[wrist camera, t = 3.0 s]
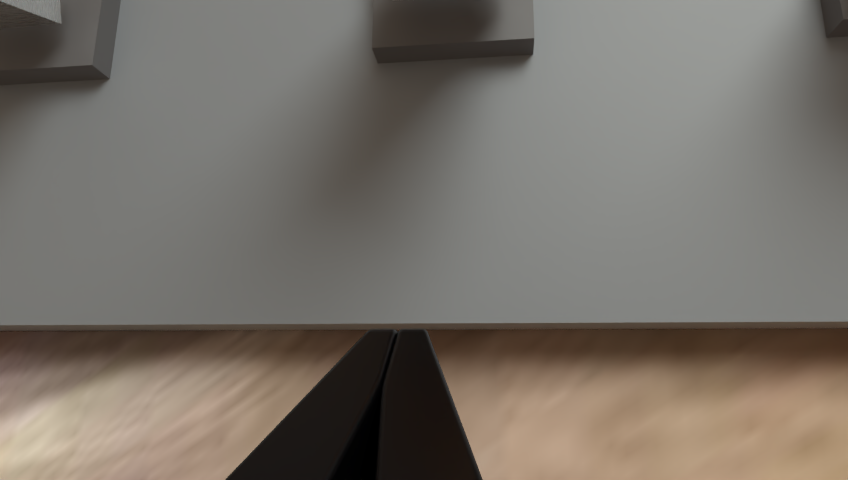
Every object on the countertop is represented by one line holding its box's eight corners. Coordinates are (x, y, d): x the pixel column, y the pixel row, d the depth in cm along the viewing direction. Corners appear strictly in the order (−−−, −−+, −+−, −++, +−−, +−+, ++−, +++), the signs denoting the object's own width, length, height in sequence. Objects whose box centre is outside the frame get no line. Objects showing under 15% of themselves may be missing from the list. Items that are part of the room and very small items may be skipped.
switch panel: (1104, 327, 18) (1217, 315, 15) (-53, 330, 23) (-133, 322, 20) (1005, -79, 22) (1082, -152, 19) (9, -3, 26) (-52, -51, 23)
